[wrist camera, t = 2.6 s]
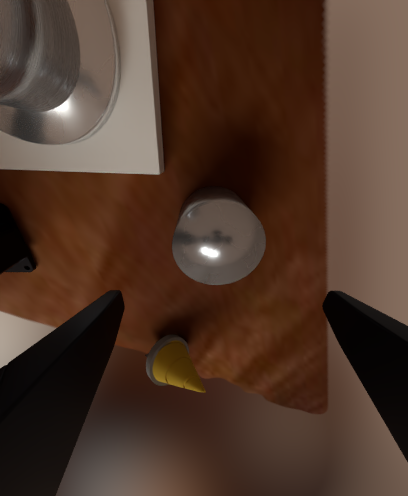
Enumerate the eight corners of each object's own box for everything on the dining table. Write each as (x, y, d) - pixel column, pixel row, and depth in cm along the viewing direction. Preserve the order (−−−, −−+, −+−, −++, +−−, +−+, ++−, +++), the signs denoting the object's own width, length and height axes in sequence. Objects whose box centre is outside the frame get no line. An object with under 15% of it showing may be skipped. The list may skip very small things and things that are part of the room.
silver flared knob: (180, 250, 17) (174, 284, 13) (178, 184, 14) (169, 200, 10) (241, 251, 18) (256, 285, 13) (252, 187, 15) (275, 203, 10)
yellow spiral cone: (142, 327, 23) (188, 366, 16) (176, 326, 27) (228, 357, 19) (132, 372, 22) (175, 436, 15) (169, 365, 26) (219, 414, 18)
